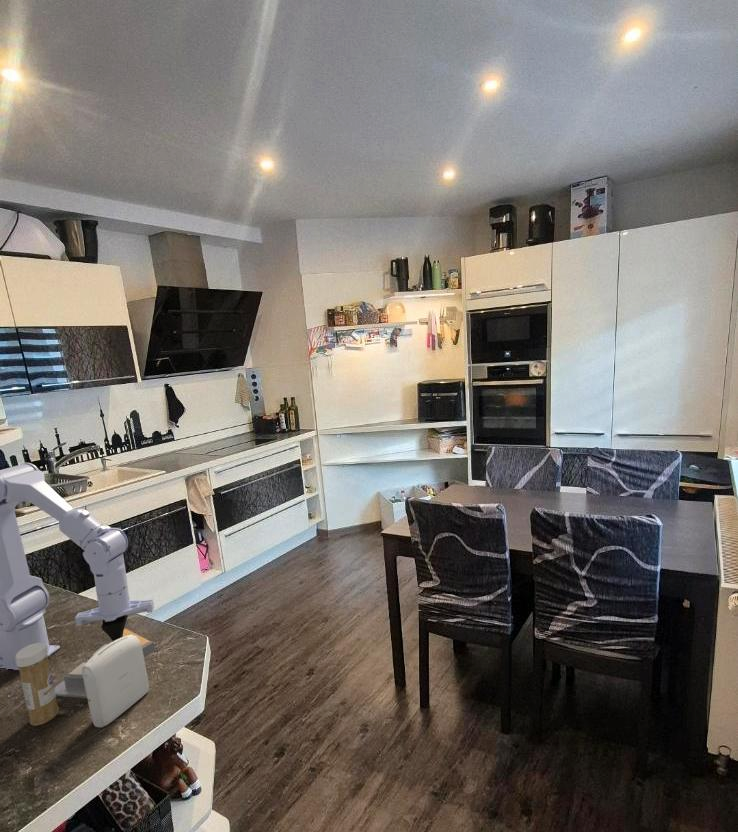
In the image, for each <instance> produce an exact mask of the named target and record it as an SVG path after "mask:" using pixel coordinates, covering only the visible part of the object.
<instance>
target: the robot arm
mask: <svg viewBox="0 0 738 832" xmlns="http://www.w3.org/2000/svg"><path fill="white" fill-rule="evenodd" d="M21 502H29V503H31V504H32V505H33V506H35V507H36V508H38V509H39V510H41V511H43V512H45V513H46V514H47V515H49V516H50V517H51V518H53V519H55V520H56V521H57V522H58V526H59V528H58V529H59V531H60V532H61V533H62V534H63V535H65V536H66V537H67V538H68V539H70V540H71V541H72V542H74V543H75V544H76V545H77V546H78V547H80V548H81V549H82V550H83V552H82V556H83V558H84V560H85V561H86V563H87V564H88V565H89V568H90V569H89V570H90V572H91V574H93V577H94V584H95V592H96V599H97V605H98V607H95V608H92V609H88V610H86V611H80V612H78V613H77V614H76V616H75V617H74V621H75V627H80V626H83V624H88V623H94V622H99V621H102V624H101V630H102V631H103V632H104V633H105V634H106V635H107V636H108V637H109V638H110V639H111V641H112V642H113V641H115V640H117V639H119V638H122V637H123V631H124V627H126V623H127V619H128V618H129V616H131V615H136V614H141V613H147V614H148V613H153V611H154V608H155V605H154V604H155V603H154V599H147V600H145V599H144V600H143V599H142V600H131V599H130V594H129V585H128V579H127V572H126V563H125V559H124V553H125V552H126V551H127V549H128V547H129V540H128V539H129V538H128V537H127V535H126V534H125V532H124V531H123V530H122V529H121V528H118V527H111V526H109V525H104V524H103V523H102V522H100V521H99V520H98V519H97V518H96V517H94V516H93V515H92V514H91V512H89V511H88V510H87V509H86V510H85V509H84V508H73V507H72V506H71V505H70V504H69V503H68V502H67V501H66V500H65V499H64V498H62V496H60V495H59V494H58V493H57V492H56V491H55V489H53V488H52V486H50V484H48V483H47V482H46V475H45V473H44V471H42V470H40V469H39V468H38V467H37V466H36V465H35V464H33V463H31V462H24V463H20V464H18V465H14V466H11V467H7V468H3V469H0V665H3V666H1V667H0V668H6V669H5V670H8V669H13V670H12V671H20V670H19V668H18V666H17V663H16V658H15V657H16V654H17V653H18V652H19V651H20V650H21V649H23V648H25V647H27V646H29V645H32V644H35V643H45V644H46V646H47V651H48V654H47V655H48V656H47V658H48V657H50V656H51V655H52V654H54V653H55V652H57V651H58V650H60V648H61V647H60V645H53V644H52V645H51V644H50V642H49V637H48V631H47V628H46V623H45V622H46V621H45V618H44V615H45V613H46V612H47V610H46V608H47V607H48V605H49V604H50V594H49V591H48V590H47V588H46V587H45V585H44V582H43V579H42V578H41V577H38V576H35V575H34V576H33V575H31V573H30V570H29V569H30V568H29V565H28V561H27V556H26V553H25V549H24V545H23V541H22V536H21V532H20V529H19V524H18V523H19V522H18V520H17V516H16V511H15V508H16V507H17V505H18V504H19V503H21Z"/></svg>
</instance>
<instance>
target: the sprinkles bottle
mask: <svg viewBox="0 0 738 832" xmlns="http://www.w3.org/2000/svg"><path fill="white" fill-rule="evenodd" d="M47 654H48V651H47V646H46V644H45V643H35V644H32V645H29V646H27V647H25V648H23V649H21V650H20V651H19V652H18V653H17V654H16V657H15V658H16V663H17V666H18V668H19V670H18V671H19V675H20V679H21V681H20V682H21V686H22V692H23V696H24V701H25V706H26V708H27V712H28V717H29V724H30V725H31V726H36V727H37V726H40V725H44V724H46V723H48V722H50V721H51V720H53V719H54V718H56V716H57V715H58V714H59V711H60V707H59V705H58V701H57V696H55V695H56V693H55V684H54V681H53V680H54V679H53V675H52V671H51V668H50V667H51V666H50V662H49V658H48V657H49V656H48V655H47ZM47 656H48V657H47Z"/></svg>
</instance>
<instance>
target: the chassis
mask: <svg viewBox="0 0 738 832" xmlns="http://www.w3.org/2000/svg"><path fill="white" fill-rule="evenodd" d="M110 643H111V642H105V643H104V644H102V645H101V646H100V647H99V648H97V649H96V650H95V651H94V652H93V653H91V654H90V655H89V656H88V657H87V660H83V661H81V662H80V663H78V665H77V666H75V667H74V668H73V669H72V670H70V672H68V673H67V674H66V675H64V676H63V680H62V681H61V682H60V683H58V684H57V685H56V686H54V688H55V693H56V695H55V696H56V697H62V698H63V697H65V698H79V699H87V694H86V690H85V685H84V680H83V676H82V668H83V666H84V665H85V664H86V663H87V661H88V660H89V659H90V658H91V657H92V656H94V655H95V654H96V653H97V652H98V651H100V650H101V649H102V648H104V647H105V646H107V645H108V644H110Z"/></svg>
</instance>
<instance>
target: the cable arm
mask: <svg viewBox="0 0 738 832" xmlns="http://www.w3.org/2000/svg"><path fill="white" fill-rule="evenodd" d="M125 627H126V626H125ZM125 627H124V631H123V637H124V636H128V635H133V636H136V637H137V638H138V639H139V641H140V642H141V646H142V651H143V656H144V658H146V657H148V656H149V655H151V654H153V653H154V652H156V649H155V648H156V647H155V643H154V641H152V640H148V639H147V638H145V637H143V636H142V635H141V636H140V635H139V634H137V633H135V632H133V631H131V630H129V629H128V628H125Z"/></svg>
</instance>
